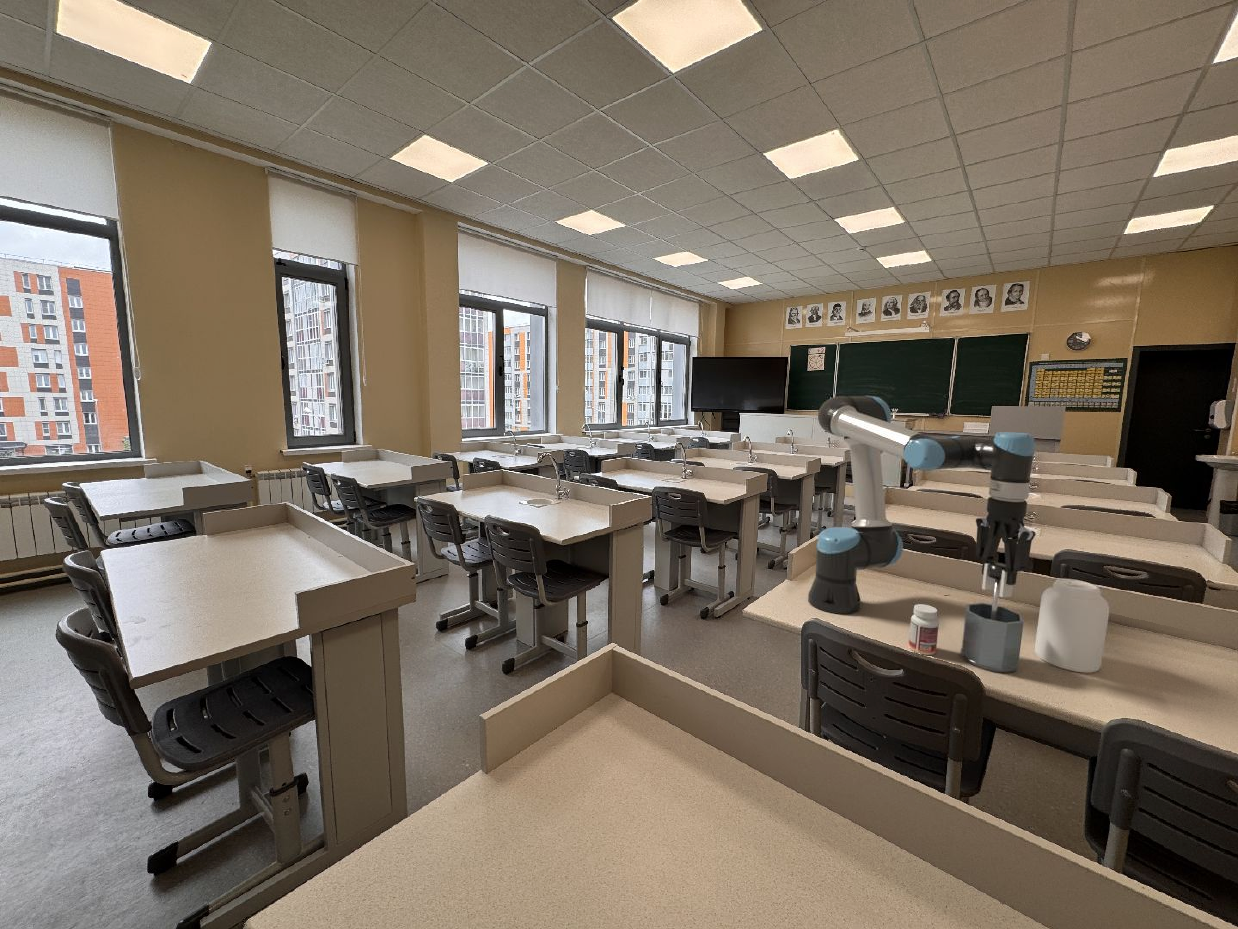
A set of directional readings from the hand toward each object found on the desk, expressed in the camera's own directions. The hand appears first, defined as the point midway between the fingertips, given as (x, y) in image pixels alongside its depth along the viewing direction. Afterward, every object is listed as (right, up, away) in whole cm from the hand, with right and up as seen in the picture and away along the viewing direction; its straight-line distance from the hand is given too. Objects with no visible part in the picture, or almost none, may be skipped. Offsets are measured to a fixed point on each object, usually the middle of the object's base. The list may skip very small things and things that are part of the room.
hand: (996, 592), depth 127 cm
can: (+19, -18, +3) cm, 26 cm away
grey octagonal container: (+1, -17, +3) cm, 18 cm away
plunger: (0, -16, +2) cm, 16 cm away
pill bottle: (-13, -17, +8) cm, 23 cm away
